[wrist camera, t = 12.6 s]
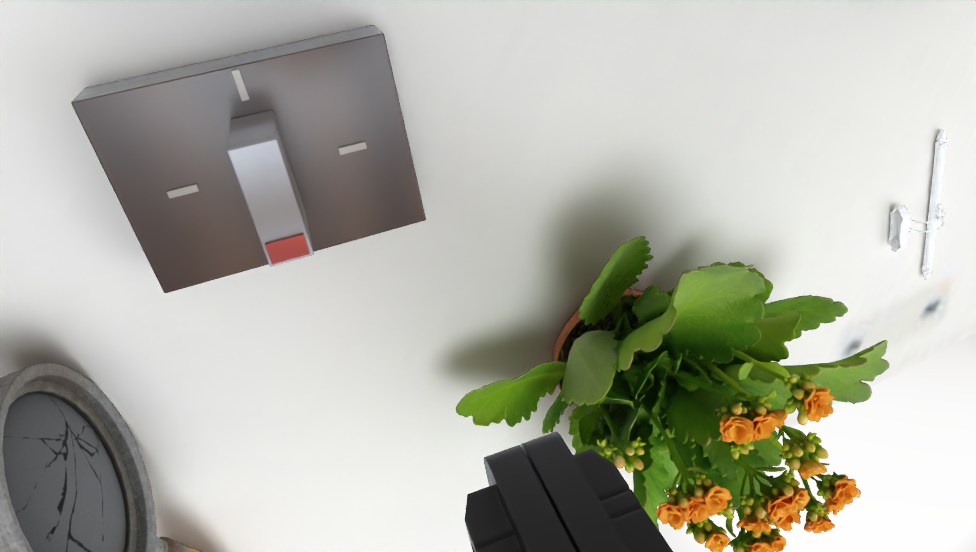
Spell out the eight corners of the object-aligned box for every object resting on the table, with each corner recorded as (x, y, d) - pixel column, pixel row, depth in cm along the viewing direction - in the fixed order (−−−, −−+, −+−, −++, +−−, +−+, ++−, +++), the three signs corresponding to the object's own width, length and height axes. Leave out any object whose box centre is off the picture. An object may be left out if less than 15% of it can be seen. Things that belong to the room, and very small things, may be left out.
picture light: (925, 276, 56) (947, 287, 55) (883, 295, 56) (904, 308, 54) (942, 126, 49) (968, 134, 47) (893, 147, 48) (918, 156, 47)
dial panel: (373, 24, 33) (384, 33, 31) (414, 200, 39) (426, 221, 36) (85, 87, 31) (69, 103, 28) (170, 267, 36) (164, 295, 33)
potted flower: (416, 472, 49) (488, 709, 34) (476, 166, 39) (615, 314, 24) (691, 452, 58) (842, 632, 43) (796, 200, 48) (1037, 323, 33)
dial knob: (229, 119, 31) (226, 152, 26) (272, 109, 31) (276, 140, 27) (267, 223, 33) (269, 269, 29) (306, 213, 34) (314, 257, 29)
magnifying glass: (258, 685, 43) (-24, 561, 24) (213, 706, 42) (-110, 598, 24) (236, 507, 51) (14, 314, 33) (198, 523, 51) (-49, 337, 32)
